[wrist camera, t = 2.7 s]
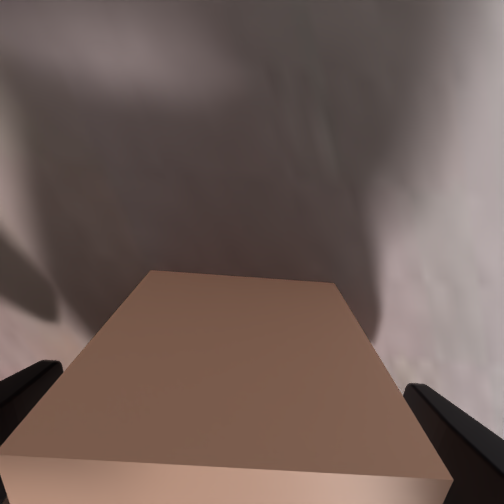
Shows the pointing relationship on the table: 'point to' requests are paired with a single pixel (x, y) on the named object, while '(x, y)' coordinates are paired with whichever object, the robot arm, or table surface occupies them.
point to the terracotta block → (224, 406)
